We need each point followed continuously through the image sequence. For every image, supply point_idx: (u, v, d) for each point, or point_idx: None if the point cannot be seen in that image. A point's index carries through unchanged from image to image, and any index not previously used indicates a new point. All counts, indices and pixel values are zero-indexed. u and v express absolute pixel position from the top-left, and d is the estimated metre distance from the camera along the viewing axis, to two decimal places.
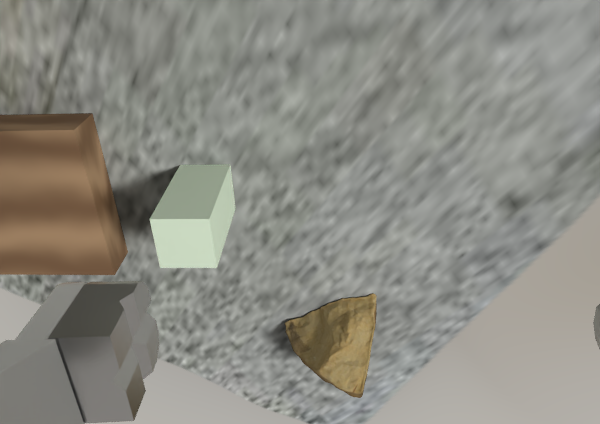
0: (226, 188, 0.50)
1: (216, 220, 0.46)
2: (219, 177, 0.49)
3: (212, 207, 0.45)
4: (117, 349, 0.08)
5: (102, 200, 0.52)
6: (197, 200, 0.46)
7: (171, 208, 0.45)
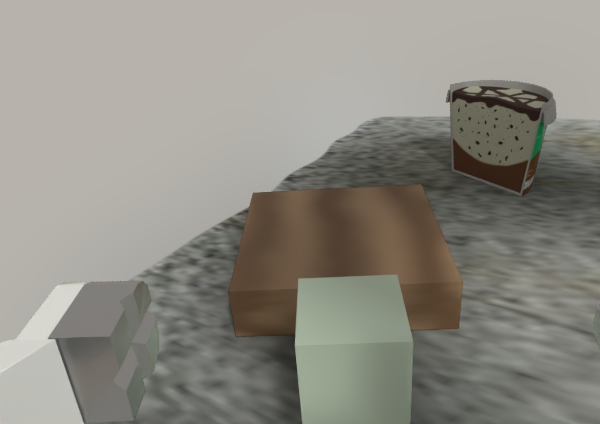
0: None
1: (378, 379, 0.23)
2: None
3: (411, 372, 0.23)
4: (118, 349, 0.08)
5: None
6: None
7: None
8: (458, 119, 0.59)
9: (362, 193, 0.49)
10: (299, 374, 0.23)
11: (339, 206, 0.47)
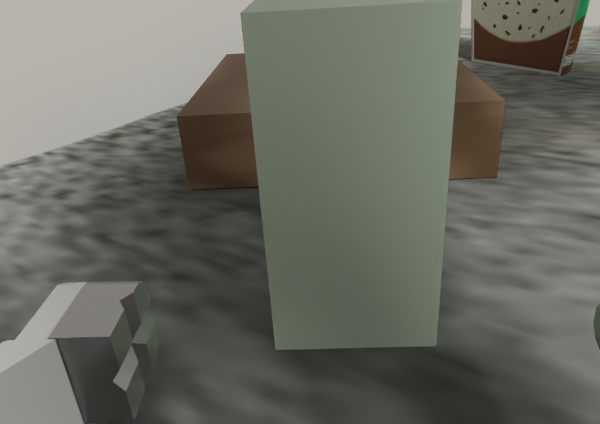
0: (401, 272, 0.15)
1: (394, 96, 0.13)
2: None
3: (454, 81, 0.13)
4: (117, 349, 0.08)
5: None
6: None
7: None
8: None
9: None
10: (251, 84, 0.13)
11: None
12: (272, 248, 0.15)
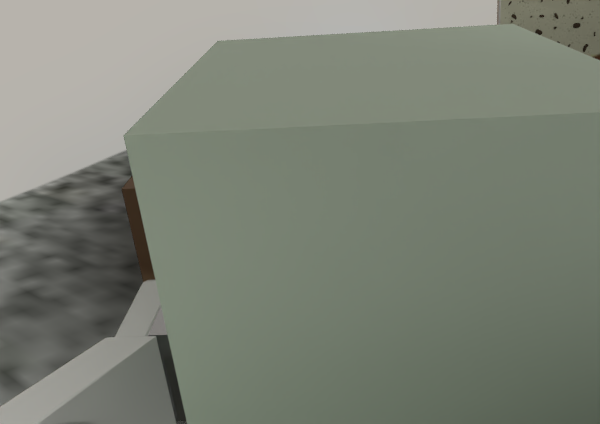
0: None
1: (502, 313, 0.05)
2: None
3: None
4: None
5: None
6: None
7: None
8: (510, 2, 0.41)
9: None
10: (165, 288, 0.05)
11: None
12: None
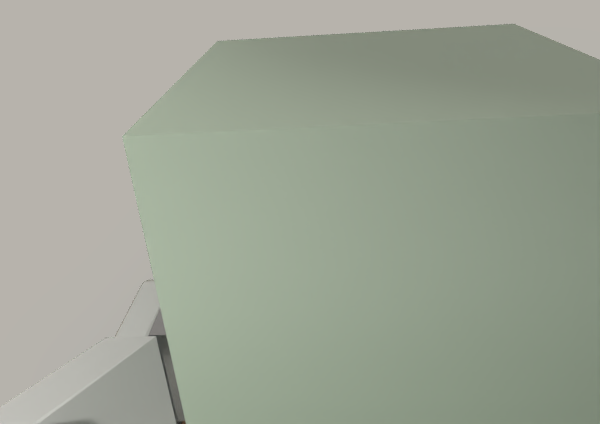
0: None
1: (504, 315, 0.05)
2: None
3: None
4: None
5: None
6: None
7: None
8: None
9: None
10: (164, 289, 0.05)
11: None
12: None
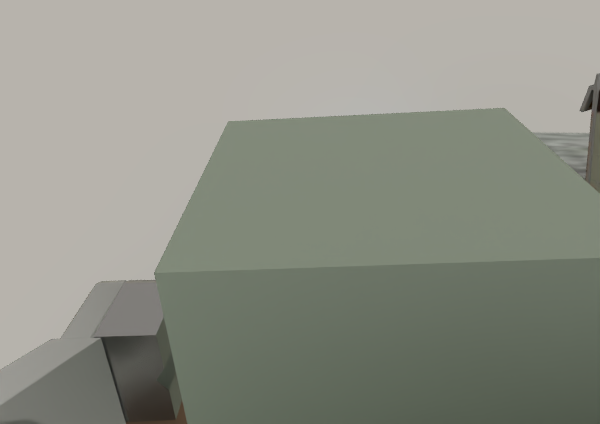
0: None
1: (490, 415, 0.06)
2: None
3: None
4: (162, 348, 0.08)
5: None
6: None
7: None
8: None
9: None
10: (187, 392, 0.06)
11: None
12: None
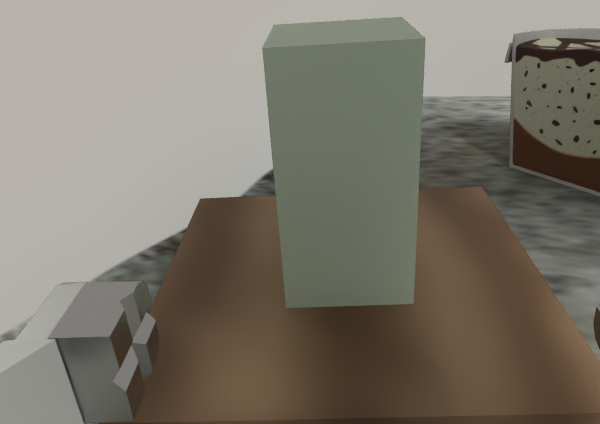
0: (385, 243, 0.20)
1: (376, 108, 0.17)
2: None
3: (421, 97, 0.17)
4: (117, 349, 0.08)
5: None
6: None
7: None
8: (525, 88, 0.39)
9: None
10: (269, 99, 0.17)
11: None
12: (284, 225, 0.19)
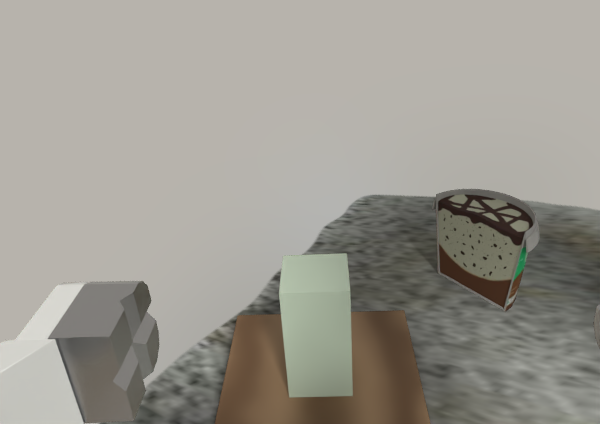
0: (337, 369, 0.40)
1: (330, 315, 0.38)
2: None
3: (350, 311, 0.38)
4: (117, 349, 0.08)
5: None
6: None
7: None
8: (444, 227, 0.59)
9: None
10: (281, 312, 0.38)
11: None
12: (288, 361, 0.40)
